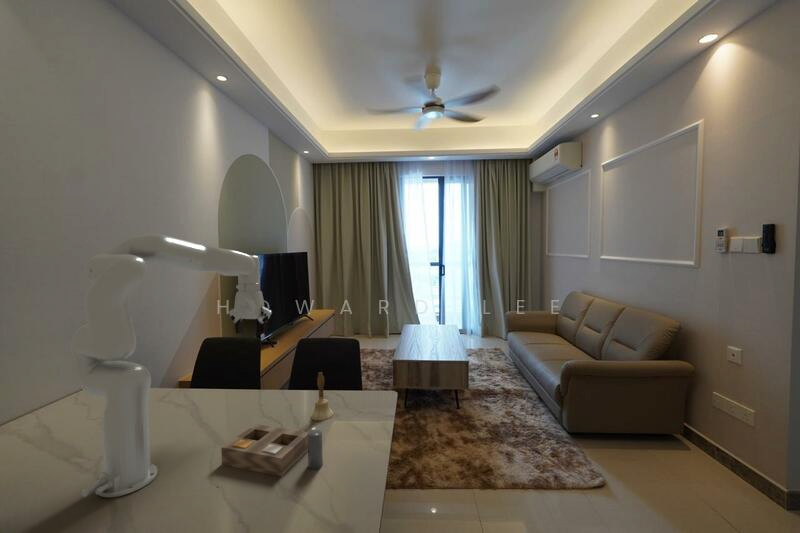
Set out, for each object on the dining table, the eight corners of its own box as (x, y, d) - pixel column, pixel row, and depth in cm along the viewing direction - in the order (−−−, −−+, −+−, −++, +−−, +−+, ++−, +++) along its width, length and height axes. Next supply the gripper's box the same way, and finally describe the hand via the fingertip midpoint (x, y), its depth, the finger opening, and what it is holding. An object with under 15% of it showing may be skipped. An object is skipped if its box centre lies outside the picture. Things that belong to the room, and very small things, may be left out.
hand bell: (310, 422, 124) (309, 377, 123) (310, 412, 132) (309, 370, 131) (334, 418, 126) (333, 375, 125) (332, 409, 134) (331, 368, 133)
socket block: (310, 448, 106) (309, 431, 106) (281, 476, 93) (281, 457, 93) (255, 439, 112) (255, 423, 112) (221, 464, 99) (221, 446, 99)
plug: (318, 470, 95) (317, 438, 95) (305, 468, 97) (304, 436, 96) (325, 462, 99) (324, 431, 99) (313, 460, 100) (312, 429, 100)
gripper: (222, 289, 129) (223, 334, 129) (264, 289, 125) (265, 336, 126) (235, 287, 136) (236, 330, 137) (275, 287, 133) (277, 331, 133)
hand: (250, 333), depth 131 cm, fingers open, 9 cm apart
